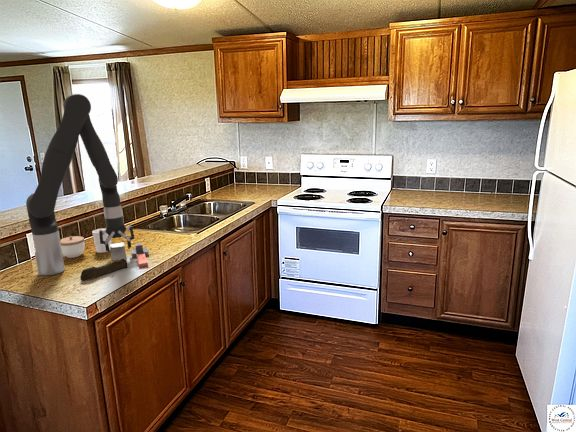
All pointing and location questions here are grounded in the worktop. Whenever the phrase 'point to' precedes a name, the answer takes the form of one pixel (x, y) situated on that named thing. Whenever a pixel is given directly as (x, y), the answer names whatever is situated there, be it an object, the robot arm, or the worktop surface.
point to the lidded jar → (72, 246)
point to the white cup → (99, 247)
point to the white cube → (118, 251)
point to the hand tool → (102, 269)
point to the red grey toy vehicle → (140, 255)
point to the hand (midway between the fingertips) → (119, 250)
